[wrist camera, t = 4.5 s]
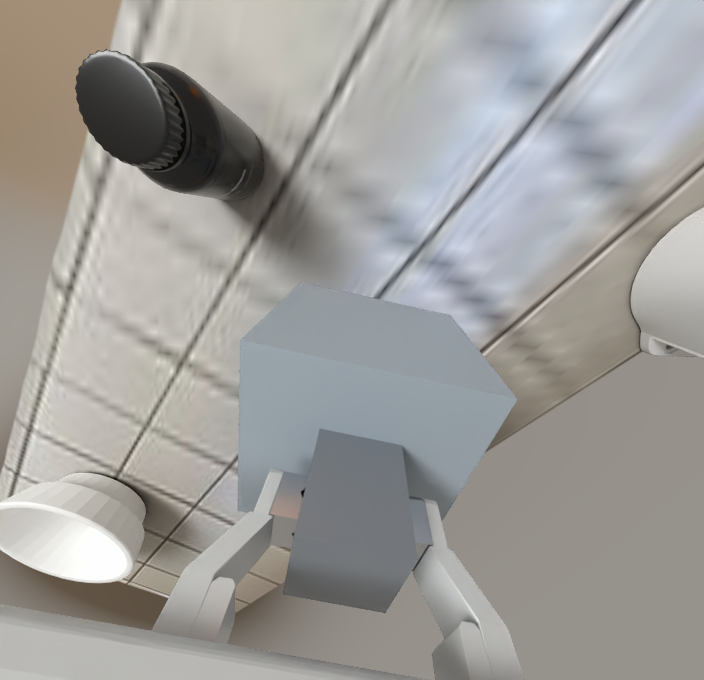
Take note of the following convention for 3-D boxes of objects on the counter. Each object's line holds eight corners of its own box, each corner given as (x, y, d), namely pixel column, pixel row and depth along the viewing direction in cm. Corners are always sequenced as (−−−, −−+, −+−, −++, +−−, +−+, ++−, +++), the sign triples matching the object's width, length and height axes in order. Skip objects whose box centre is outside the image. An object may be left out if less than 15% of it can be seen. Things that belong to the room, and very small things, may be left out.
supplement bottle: (261, 209, 26) (187, 204, 15) (193, 189, 25) (66, 168, 15) (271, 126, 23) (187, 46, 12) (193, 101, 22) (34, -6, 12)
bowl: (148, 544, 55) (114, 596, 47) (35, 501, 50) (-24, 551, 42) (185, 491, 47) (150, 545, 39) (53, 433, 42) (-17, 481, 34)
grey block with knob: (450, 315, 17) (609, 513, 6) (405, 426, 22) (445, 662, 10) (300, 282, 17) (154, 421, 5) (286, 401, 21) (189, 617, 10)
